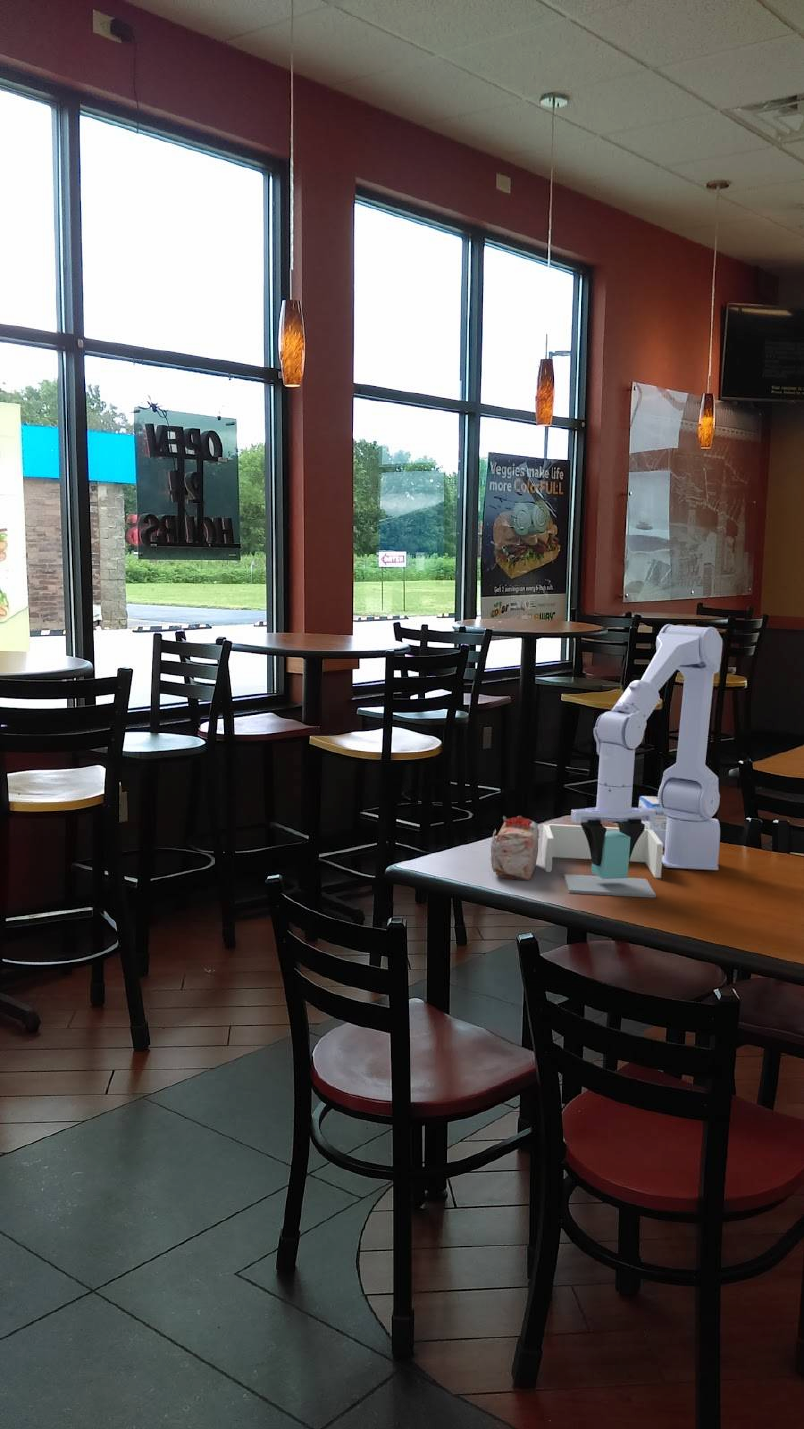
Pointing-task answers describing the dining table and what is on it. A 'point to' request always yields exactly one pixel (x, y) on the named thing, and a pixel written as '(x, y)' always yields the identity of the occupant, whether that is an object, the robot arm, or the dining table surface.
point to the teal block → (614, 856)
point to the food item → (515, 848)
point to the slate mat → (609, 886)
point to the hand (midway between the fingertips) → (610, 863)
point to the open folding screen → (575, 845)
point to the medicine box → (660, 818)
